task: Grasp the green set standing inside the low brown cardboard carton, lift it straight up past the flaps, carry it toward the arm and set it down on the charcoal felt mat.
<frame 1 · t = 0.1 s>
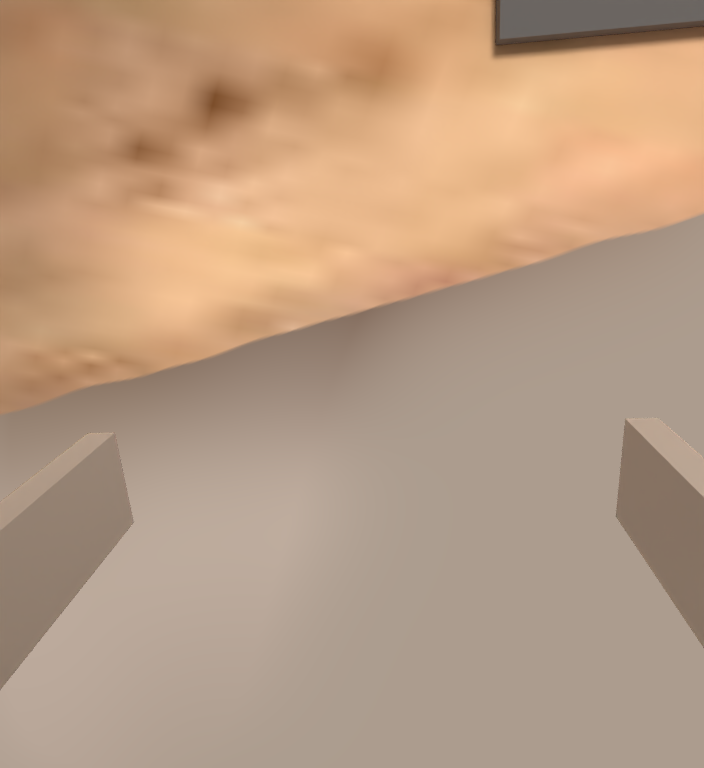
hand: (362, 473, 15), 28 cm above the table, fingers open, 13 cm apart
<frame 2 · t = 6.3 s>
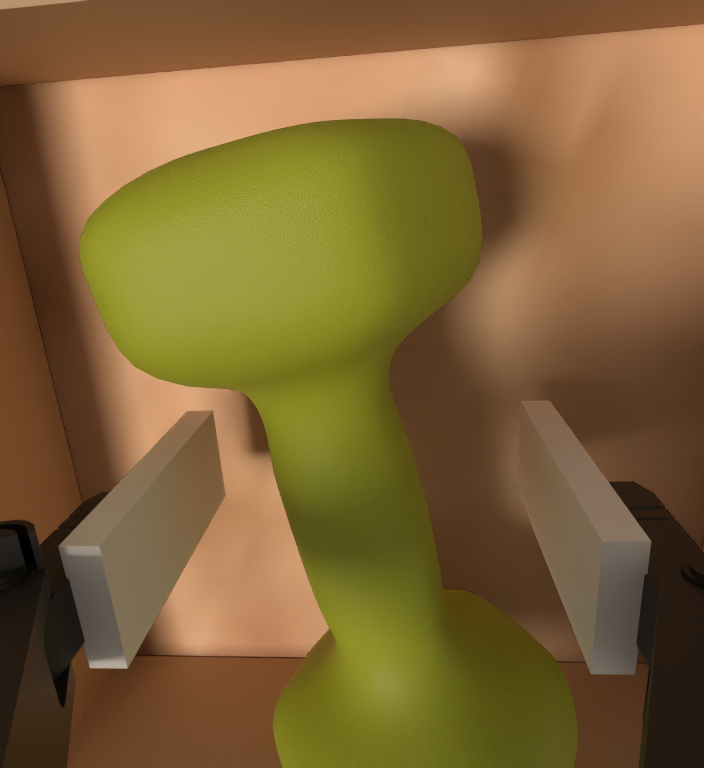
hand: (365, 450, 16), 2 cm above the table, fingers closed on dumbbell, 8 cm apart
dumbbell: (368, 448, 17), point 2 cm above the table, touching gripper
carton: (375, 411, 18), on the table
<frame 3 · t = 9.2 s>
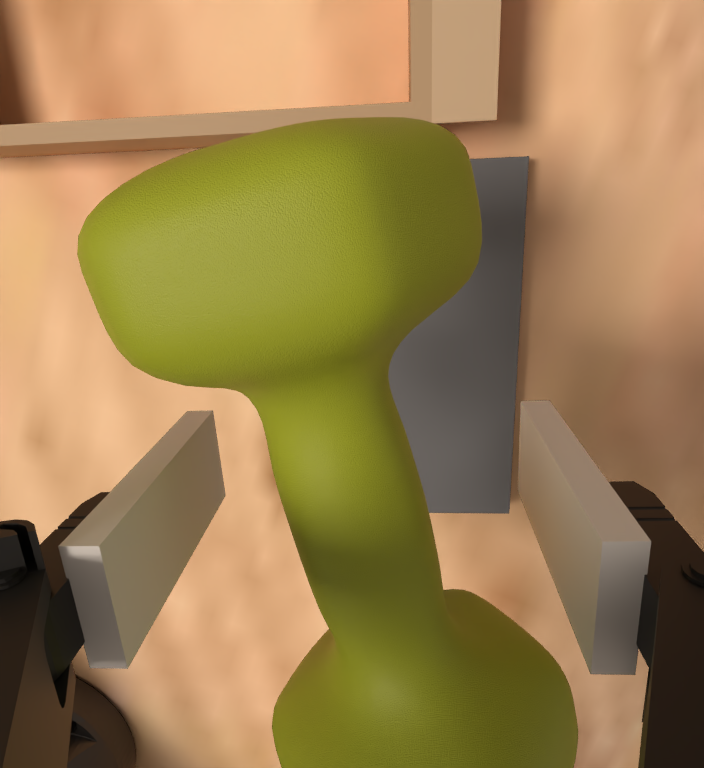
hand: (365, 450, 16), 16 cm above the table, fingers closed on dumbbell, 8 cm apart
dumbbell: (368, 447, 17), point 15 cm above the table, touching gripper
mat: (401, 347, 32), on the table
when the fingers open (3 cm above the table, at t = 12.4 s): dumbbell stays where it is, resting on mat.
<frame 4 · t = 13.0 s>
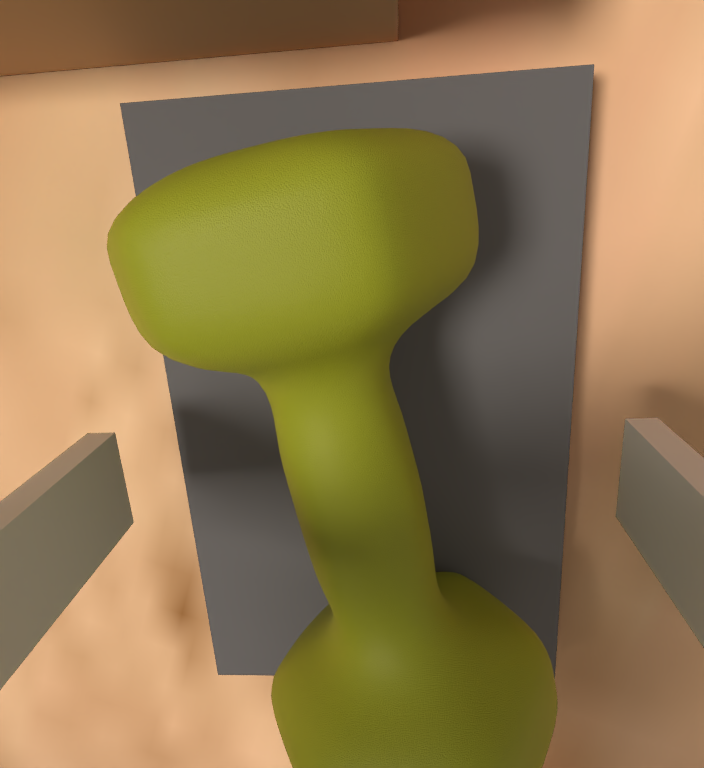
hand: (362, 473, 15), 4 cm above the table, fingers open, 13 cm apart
dumbbell: (367, 436, 18), point 1 cm above the table, touching mat
mat: (370, 413, 19), on the table
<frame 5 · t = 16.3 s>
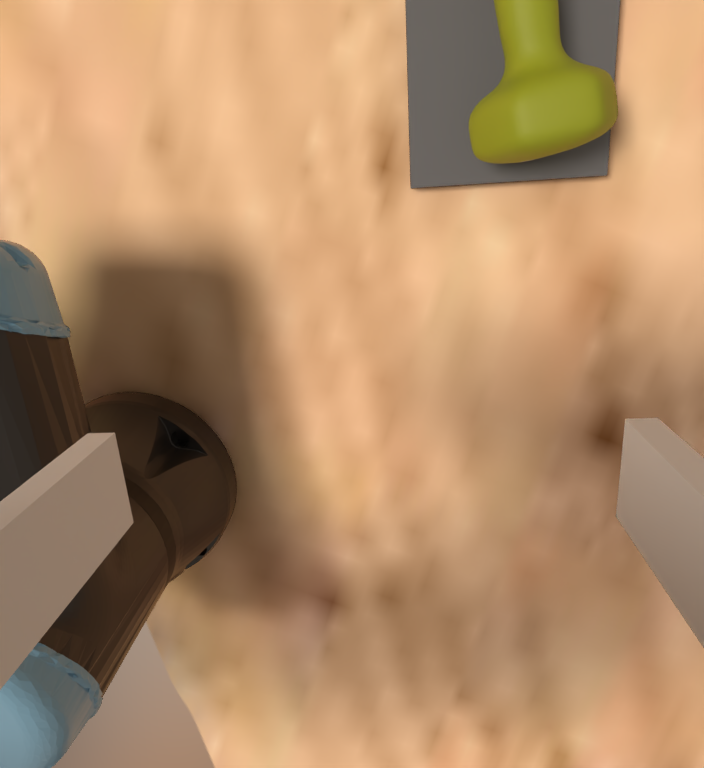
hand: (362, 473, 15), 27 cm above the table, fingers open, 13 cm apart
dumbbell: (510, 11, 33), point 1 cm above the table, touching mat
mat: (506, 13, 34), on the table
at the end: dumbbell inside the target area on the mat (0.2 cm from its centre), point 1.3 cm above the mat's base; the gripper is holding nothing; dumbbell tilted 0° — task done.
